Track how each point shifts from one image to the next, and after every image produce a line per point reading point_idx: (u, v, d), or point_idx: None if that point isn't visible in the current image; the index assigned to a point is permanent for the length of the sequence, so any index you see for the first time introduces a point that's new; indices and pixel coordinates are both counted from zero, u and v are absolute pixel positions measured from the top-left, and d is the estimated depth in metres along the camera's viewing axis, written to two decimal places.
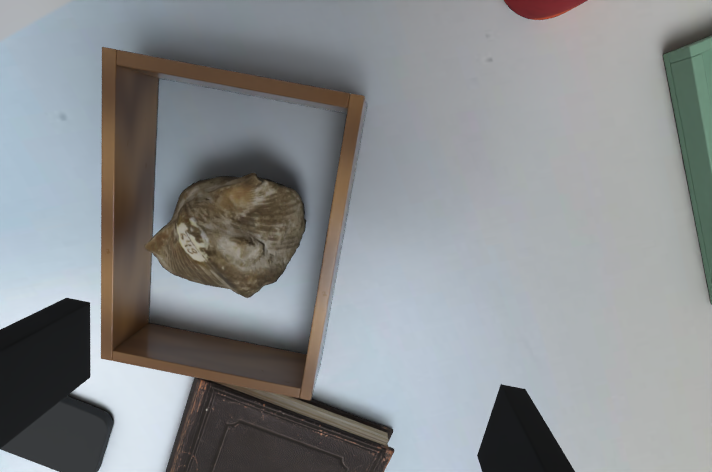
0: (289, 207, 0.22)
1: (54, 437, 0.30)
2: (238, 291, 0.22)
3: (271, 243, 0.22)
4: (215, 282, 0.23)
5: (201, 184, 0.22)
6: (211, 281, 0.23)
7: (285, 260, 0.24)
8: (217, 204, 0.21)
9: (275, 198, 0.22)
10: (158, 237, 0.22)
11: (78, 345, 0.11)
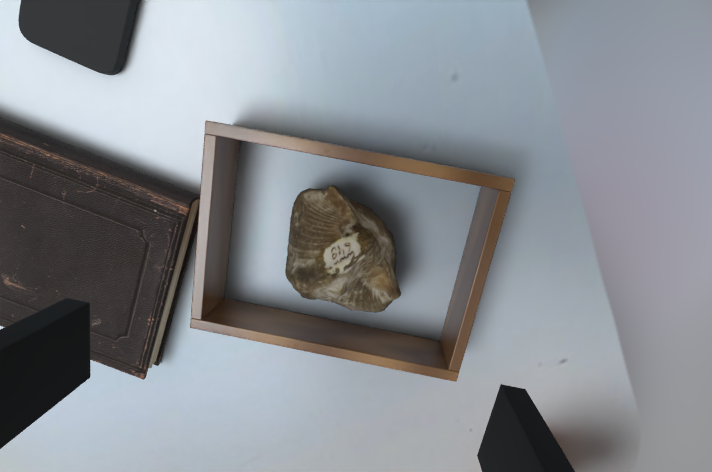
0: (368, 308, 0.26)
1: None
2: (293, 276, 0.24)
3: (337, 298, 0.25)
4: (299, 249, 0.24)
5: (390, 243, 0.24)
6: (300, 246, 0.24)
7: (320, 298, 0.27)
8: (374, 267, 0.24)
9: (377, 302, 0.26)
10: (342, 202, 0.23)
11: (78, 345, 0.11)
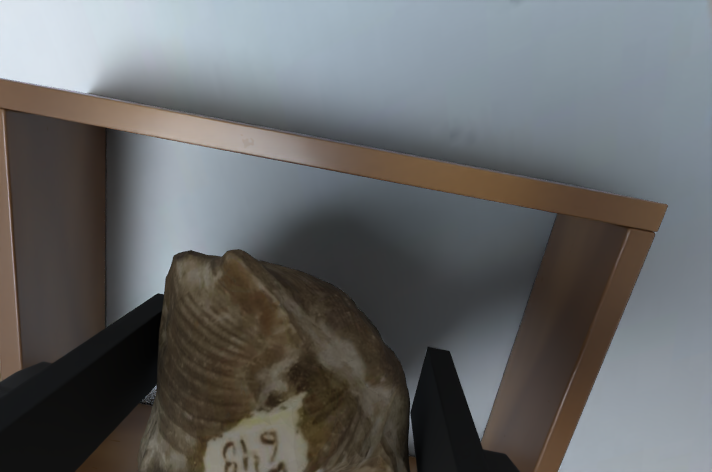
0: None
1: None
2: None
3: None
4: (161, 407, 0.09)
5: (397, 396, 0.09)
6: (162, 401, 0.09)
7: None
8: None
9: None
10: (262, 300, 0.08)
11: None
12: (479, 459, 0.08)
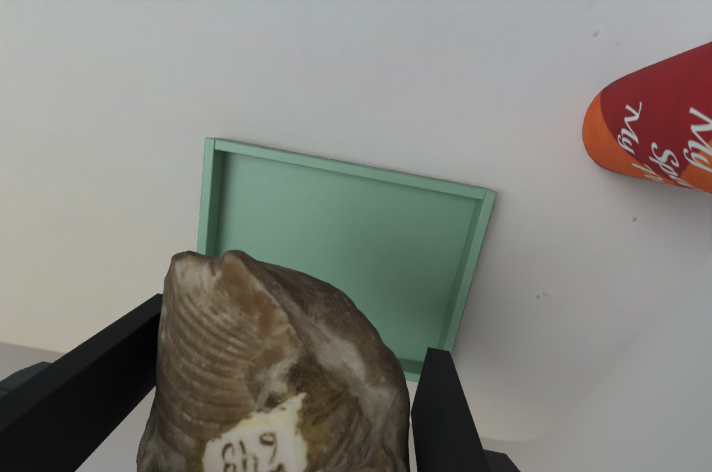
0: None
1: None
2: None
3: None
4: (160, 408, 0.09)
5: (397, 396, 0.09)
6: (161, 402, 0.09)
7: None
8: None
9: None
10: (261, 300, 0.08)
11: None
12: (479, 459, 0.08)
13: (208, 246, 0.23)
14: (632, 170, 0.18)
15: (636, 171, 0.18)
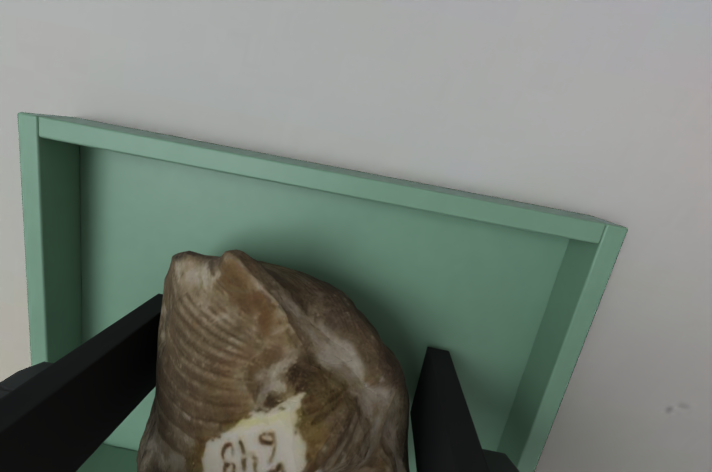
0: None
1: None
2: None
3: None
4: (160, 408, 0.09)
5: (396, 396, 0.09)
6: (161, 401, 0.09)
7: None
8: None
9: None
10: (260, 300, 0.08)
11: None
12: (478, 459, 0.08)
13: (54, 324, 0.12)
14: None
15: None
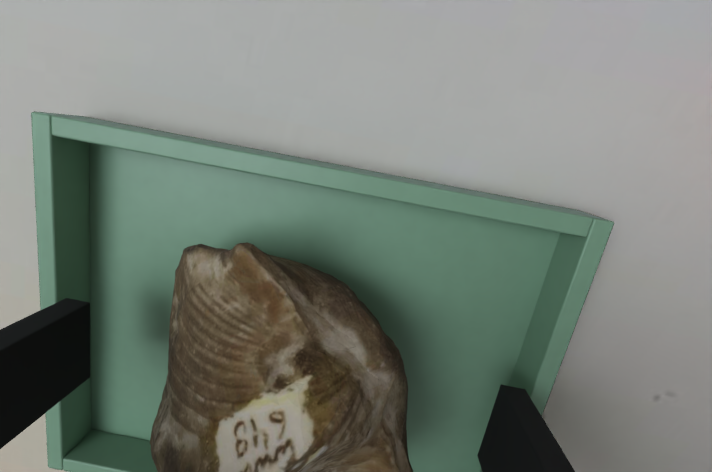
0: None
1: None
2: (157, 461, 0.10)
3: None
4: (173, 392, 0.10)
5: (396, 381, 0.10)
6: (174, 386, 0.10)
7: None
8: (355, 452, 0.09)
9: None
10: (269, 289, 0.09)
11: (78, 345, 0.11)
12: None
13: None
14: None
15: None
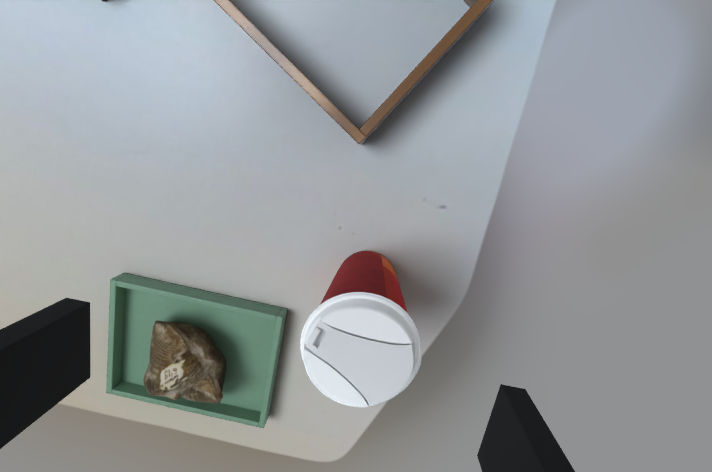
0: (207, 402, 0.36)
1: None
2: (145, 384, 0.34)
3: None
4: (150, 364, 0.34)
5: (215, 362, 0.34)
6: (151, 362, 0.34)
7: None
8: (199, 381, 0.34)
9: (211, 399, 0.36)
10: (176, 336, 0.33)
11: (78, 345, 0.11)
12: None
13: (115, 339, 0.37)
14: None
15: None
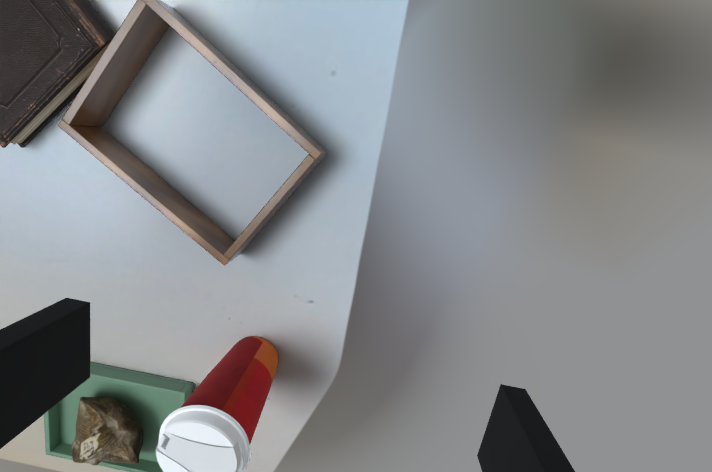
0: None
1: None
2: (71, 451, 0.41)
3: None
4: None
5: (128, 432, 0.41)
6: None
7: None
8: (115, 449, 0.41)
9: (128, 461, 0.43)
10: (94, 413, 0.40)
11: (78, 345, 0.11)
12: None
13: (50, 410, 0.44)
14: None
15: None
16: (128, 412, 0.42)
